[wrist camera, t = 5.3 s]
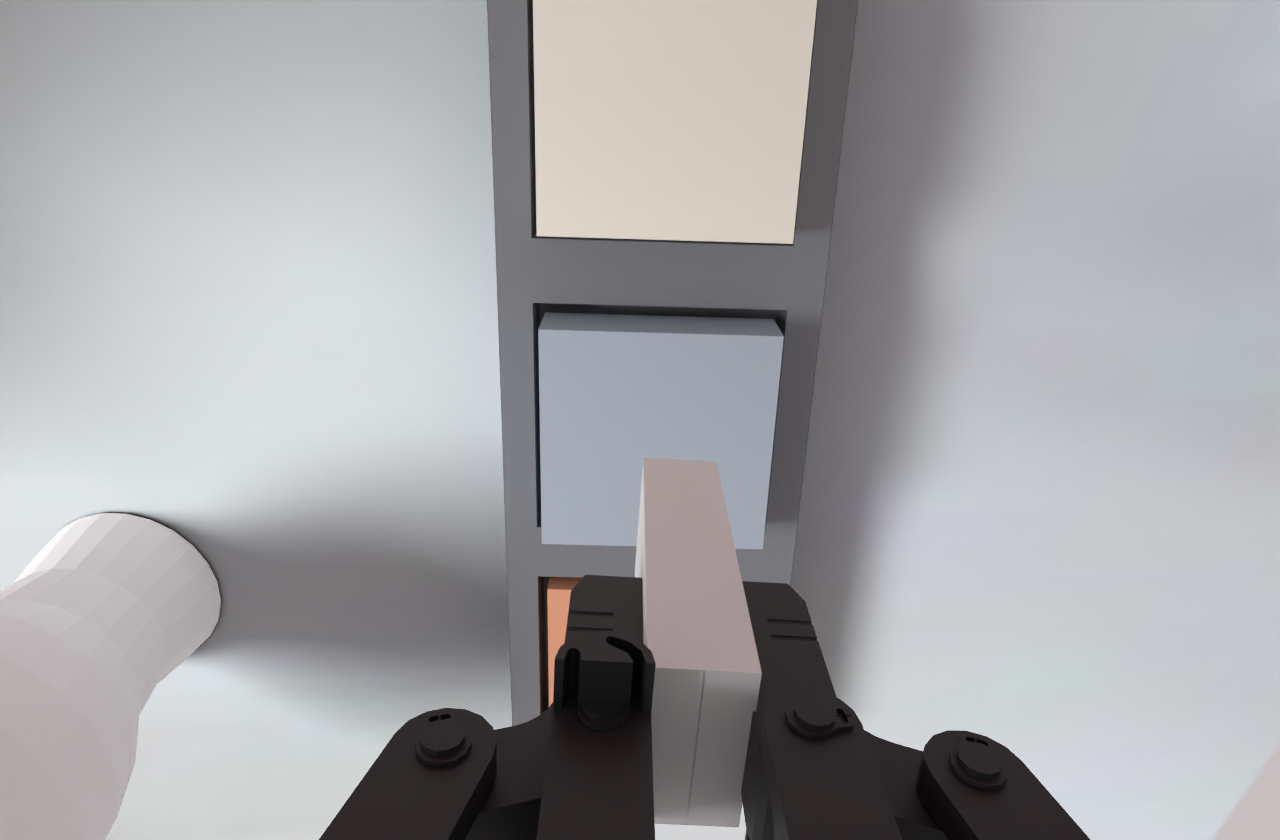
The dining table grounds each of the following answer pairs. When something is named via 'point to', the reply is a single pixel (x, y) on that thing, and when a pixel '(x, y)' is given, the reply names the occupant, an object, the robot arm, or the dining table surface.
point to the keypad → (645, 285)
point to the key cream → (670, 117)
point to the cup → (90, 667)
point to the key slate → (652, 416)
